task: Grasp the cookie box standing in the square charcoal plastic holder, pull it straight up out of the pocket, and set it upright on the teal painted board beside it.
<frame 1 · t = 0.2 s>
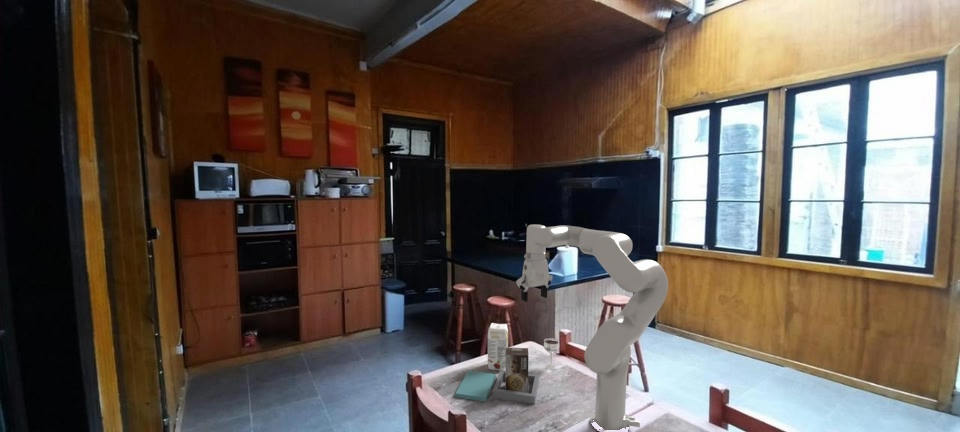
hand: (534, 298, 151), 36 cm above the table, tool pointing down, fingers open, 9 cm apart
board: (476, 386, 154), on the table
holder: (516, 389, 152), on the table
juice carton: (497, 367, 170), on the table
wineglass: (550, 367, 171), on the table
cookie box: (516, 390, 152), resting in holder
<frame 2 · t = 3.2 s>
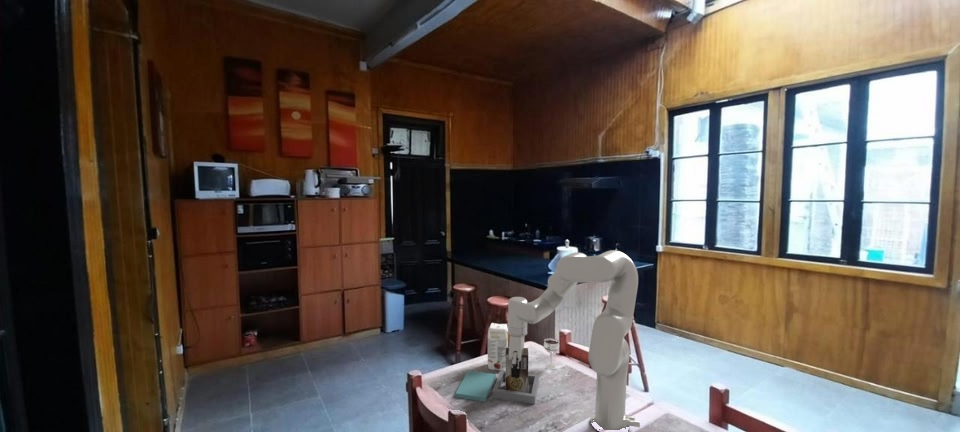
hand: (516, 372, 152), 7 cm above the table, tool pointing down, fingers closed on cookie box, 7 cm apart
cookie box: (516, 390, 152), resting in holder, touching gripper
everything else where it was.
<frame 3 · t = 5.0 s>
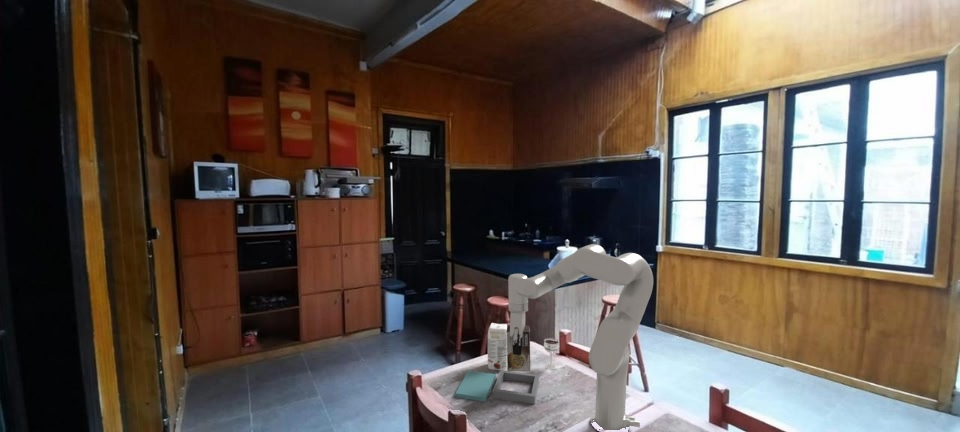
hand: (518, 349, 150), 17 cm above the table, tool pointing down, fingers closed on cookie box, 7 cm apart
cookie box: (518, 368, 151), point 9 cm above the table, touching gripper
everything else where it was.
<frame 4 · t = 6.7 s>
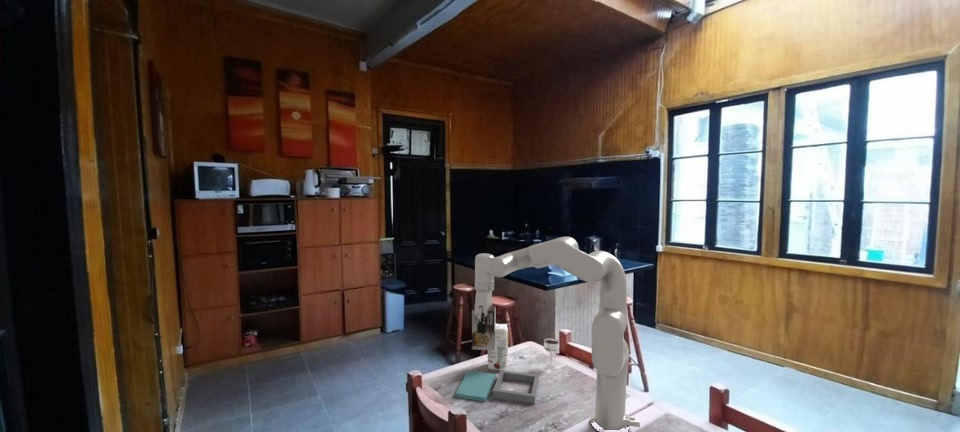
hand: (483, 328, 151), 24 cm above the table, tool pointing down, fingers closed on cookie box, 7 cm apart
cookie box: (483, 347, 152), point 17 cm above the table, touching gripper
everything else where it was.
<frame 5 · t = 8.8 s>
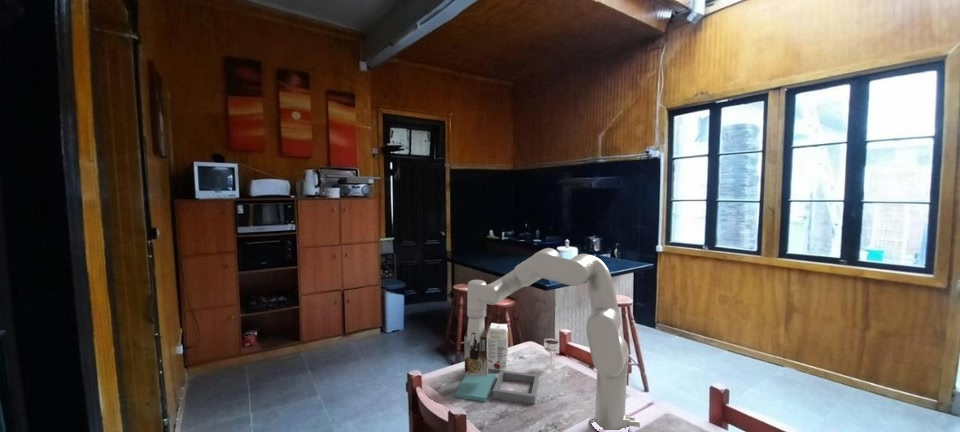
hand: (476, 354, 153), 14 cm above the table, tool pointing down, fingers closed on cookie box, 7 cm apart
cookie box: (476, 372, 154), point 6 cm above the table, touching gripper
everything else where it was.
when the fingers open (10 cm above the table, at t = 10.6 s): cookie box stays where it is, resting on board.
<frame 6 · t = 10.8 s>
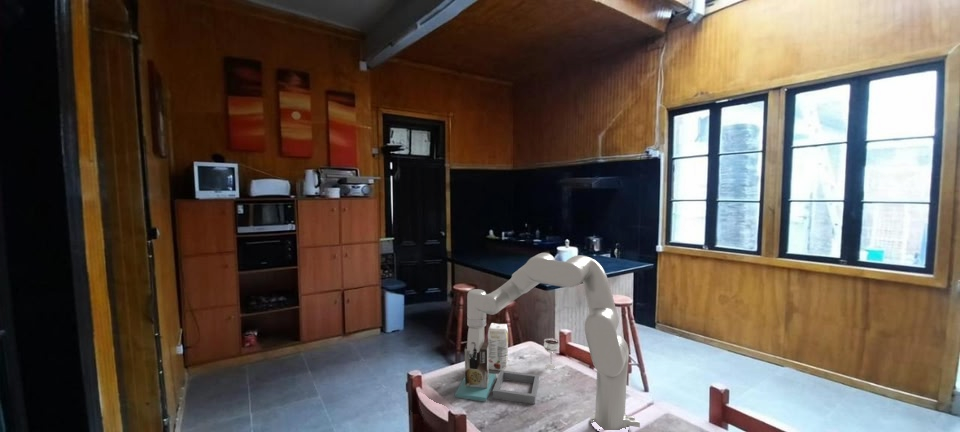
hand: (476, 362, 153), 10 cm above the table, tool pointing down, fingers open, 8 cm apart
cookie box: (477, 383, 154), point 1 cm above the table, touching board
everything else where it was.
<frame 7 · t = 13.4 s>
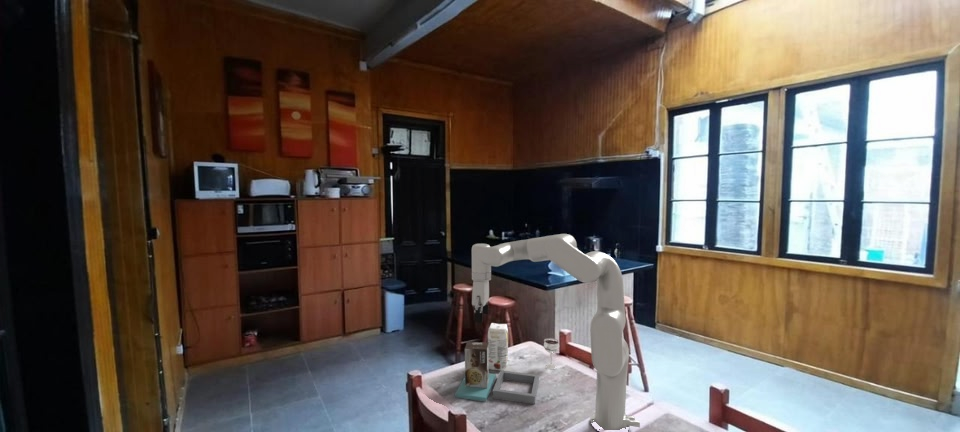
hand: (481, 317, 152), 29 cm above the table, tool pointing down, fingers open, 9 cm apart
nothing on the table moved.
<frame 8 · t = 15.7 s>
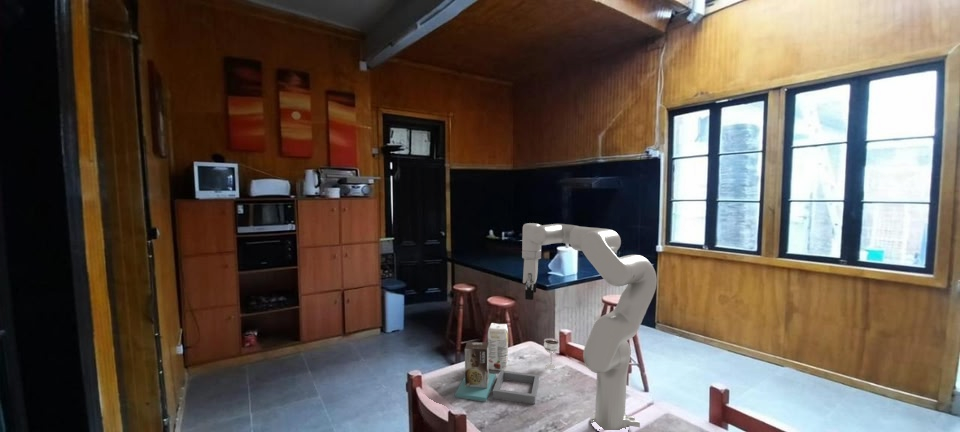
hand: (530, 295, 155), 36 cm above the table, tool pointing down, fingers open, 9 cm apart
nothing on the table moved.
at the end: cookie box inside the target area on the board (0.2 cm from its centre), point 1.3 cm above the board's base; cookie box tilted 0°; the gripper is holding nothing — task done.
